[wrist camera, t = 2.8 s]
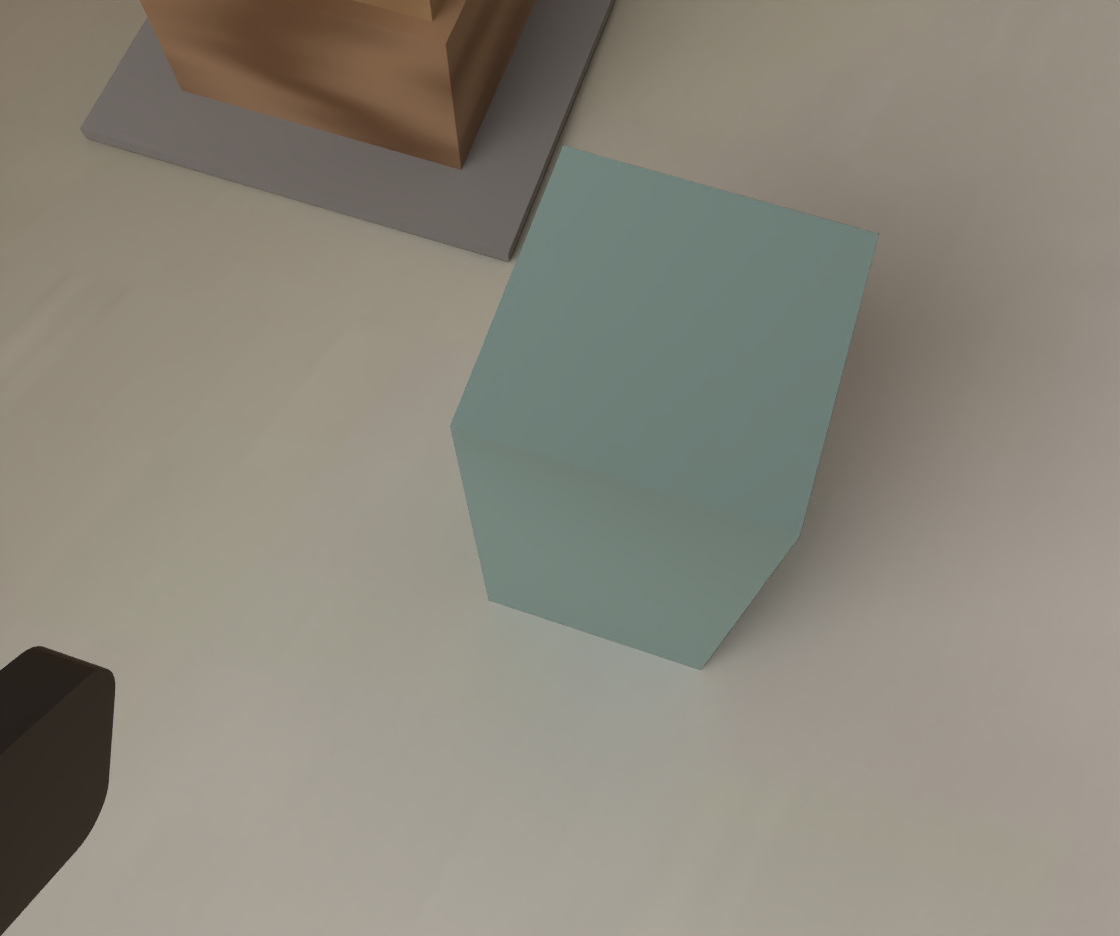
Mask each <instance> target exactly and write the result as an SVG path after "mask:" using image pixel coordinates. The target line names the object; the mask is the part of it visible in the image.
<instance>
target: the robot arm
mask: <svg viewBox="0 0 1120 936" xmlns="http://www.w3.org/2000/svg"><path fill="white" fill-rule="evenodd" d="M114 700H115V679H114V676H113V673H112V672H111V671H110V670H108V669H106V668H103V667H100V666H97V665H94V664H92V663H89V662H86V661H83V660H80V659H77V658H74V657H71V656H68V655H66V654H63V653H60V652H57V651H54V650H51V649H48V648H45V647H43V646H37V647H32V648H30V649H28V650H26V651H25V652H23V653H22V654H20V655H19V656H18V657H17V658H15V659H14V660H13V661H12V662H10V663H9V664H8V665H7V666H5V667H4V668H3V669H2V670H0V936H1V935H2V934H3V933H4V932H5V930H6V929H7V928H8V927H9V926H10V925H11V924H12V923H13V921H14V920H15V919H16V918H17V917H18V916H19V915H20V914H21V912H22V911H23V910H24V909H25V908H26V907H27V906H28V905H29V903H30V902H31V901H32V900H33V899H34V898H35V897H36V896H37V894H38V893H39V892H40V891H41V890H42V889H43V888H44V887H45V885H46V884H47V883H48V882H49V881H50V880H51V879H52V878H53V876H54V875H55V874H56V873H57V872H58V871H59V870H60V869H61V867H62V866H63V865H64V864H65V863H66V862H67V861H68V860H69V858H70V857H71V856H72V855H73V854H74V853H75V852H76V851H77V849H78V848H79V847H80V846H81V845H82V843H83V842H84V840H85V839H86V838H87V836H88V834H89V833H90V831H91V830H92V828H93V826H94V824H95V822H96V820H97V818H98V816H99V814H100V812H101V809H102V807H103V804H104V801H105V798H106V794H107V790H108V783H109V770H110V756H111V742H112V728H113V714H114Z"/></svg>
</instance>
